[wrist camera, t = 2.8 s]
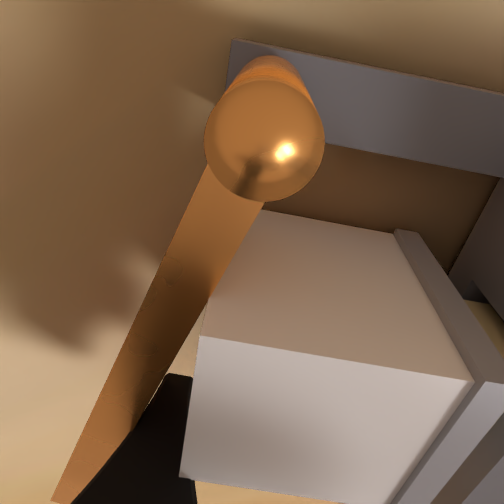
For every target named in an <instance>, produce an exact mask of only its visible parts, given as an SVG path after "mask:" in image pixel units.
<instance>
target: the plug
mask: <svg viewBox="0 0 504 504" xmlns="http://www.w3.org/2000/svg"><path fill="white" fill-rule="evenodd" d="M503 413H504V322H503V321H502V320H501V318H500V317H499V316H498V314H497V313H496V312H495V310H494V309H493V308H492V306H491V305H490V304H485V303H480V302H474V301H469V300H463V298H462V297H461V295H460V294H459V292H458V291H457V289H456V288H455V286H454V285H453V284H452V282H451V281H450V279H449V278H448V276H447V275H446V273H445V272H444V270H443V269H442V267H441V266H440V264H439V263H438V261H437V260H436V258H435V257H434V256H433V254H432V253H431V251H430V250H429V248H428V247H427V245H426V244H425V242H424V241H423V239H422V238H421V236H420V235H419V233H418V232H413V231H408V230H403V229H397V228H396V229H395V232H394V234H391V233H385V232H380V231H375V230H369V229H364V228H358V227H353V226H348V225H342V224H337V223H332V222H326V221H321V220H316V219H310V218H305V217H300V216H294V215H289V214H283V213H278V212H273V211H267V210H262V209H261V210H260V212H259V213H258V215H257V217H256V219H255V220H254V222H253V224H252V226H251V227H250V229H249V231H248V232H247V234H246V236H245V238H244V239H243V241H242V243H241V245H240V246H239V248H238V250H237V251H236V253H235V255H234V257H233V258H232V260H231V262H230V264H229V265H228V267H227V269H226V270H225V272H224V274H223V276H222V277H221V279H220V281H219V282H218V284H217V286H216V288H215V289H214V291H213V293H212V295H211V296H210V298H209V299H208V303H207V307H206V312H205V316H204V320H203V324H202V328H201V332H200V337H199V344H198V350H197V357H196V364H195V371H194V378H193V384H192V391H191V398H190V405H189V412H188V418H187V425H186V432H185V439H184V446H183V452H182V459H181V466H180V473H179V477H183V478H190V479H191V480H195V481H202V482H208V483H215V484H222V485H228V486H235V487H241V488H248V489H254V490H261V491H267V492H274V493H280V494H287V495H294V496H300V497H307V498H313V499H320V500H326V501H333V502H339V503H346V504H430V503H431V502H432V500H433V499H434V498H435V497H436V496H437V494H438V493H439V492H440V491H441V489H442V488H443V487H444V486H445V484H446V483H447V482H448V481H449V479H450V478H451V477H452V476H453V474H454V473H455V472H456V471H457V469H458V468H459V467H460V466H461V464H462V463H463V462H464V461H465V459H466V458H467V457H468V456H469V454H470V453H471V452H472V451H473V449H474V448H475V447H476V446H477V445H478V443H479V442H480V441H481V440H482V438H483V437H484V436H485V435H486V434H487V433H488V431H489V430H490V429H491V428H492V426H493V425H494V424H495V423H496V421H497V420H498V419H499V418H500V416H501V415H502V414H503Z"/></svg>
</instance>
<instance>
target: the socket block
mask: <svg viewBox="0 0 504 504" xmlns="http://www.w3.org/2000/svg"><path fill="white" fill-rule="evenodd" d="M265 55H274V56H279V57H282V58H284V59H286V60H287V61H289V62H290V63H291V64H292V65H294V67H295V68H296V69H297V70H298V72H299V74H300V76H301V78H302V80H303V82H304V84H305V86H306V89H307V91H308V93H309V95H310V97H311V99H312V101H313V103H314V106H315V108H316V110H317V112H318V114H319V116H320V119H321V121H322V125H323V128H324V135H325V143H328V144H333V145H338V146H343V147H348V148H353V149H359V150H364V151H369V152H374V153H379V154H384V155H389V156H394V157H399V158H404V159H410V160H415V161H420V162H425V163H430V164H435V165H440V166H445V167H450V168H455V169H460V170H466V171H471V172H476V173H481V174H486V175H491V176H496V177H500V179H499V181H498V183H497V185H496V187H495V189H494V191H493V192H492V194H491V196H490V198H489V200H488V202H487V204H486V205H485V207H484V209H483V211H482V213H481V215H480V217H479V219H478V220H477V222H476V224H475V226H474V228H473V230H472V232H471V233H470V235H469V237H468V239H467V241H466V243H465V245H464V247H463V248H462V250H461V252H460V254H459V256H458V258H457V260H456V261H455V263H454V265H453V267H452V269H451V271H450V273H449V275H448V278H449V279H450V281H451V282H452V284H453V285H454V286H455V288H456V289H457V291H458V292H459V294H460V295H461V297H462V298H463V300H469V301H474V302H480V303H485V304H490V305H491V306H492V308H493V309H494V310H495V312H496V313H497V314H498V316H499V317H500V318H501V320H502V321H503V322H504V93H501V92H496V91H491V90H486V89H481V88H477V87H472V86H467V85H462V84H457V83H452V82H448V81H443V80H438V79H433V78H428V77H423V76H418V75H414V74H409V73H404V72H399V71H394V70H389V69H385V68H380V67H375V66H370V65H365V64H360V63H356V62H351V61H346V60H341V59H336V58H331V57H327V56H322V55H317V54H312V53H307V52H302V51H298V50H293V49H288V48H283V47H278V46H273V45H269V44H264V43H259V42H254V41H249V40H244V39H240V38H235V39H232V43H231V50H230V58H229V65H228V73H227V80H226V87H225V92H226V90H227V89H228V88H229V86H230V85H231V83H232V82H233V81H234V79H235V78H236V76H237V75H238V74H239V72H240V71H241V70H242V68H243V67H244V66H245V65H246V64H247V63H248V62H250V61H251V60H253V59H255V58H257V57H260V56H265ZM430 504H504V413H503V414H502V415H501V416H500V418H499V419H498V420H497V421H496V423H495V424H494V425H493V426H492V428H491V429H490V430H489V431H488V433H487V434H486V435H485V436H484V437H483V438H482V440H481V441H480V442H479V443H478V445H477V446H476V447H475V448H474V449H473V451H472V452H471V453H470V454H469V456H468V457H467V458H466V459H465V461H464V462H463V463H462V464H461V466H460V467H459V468H458V469H457V471H456V472H455V473H454V474H453V476H452V477H451V478H450V479H449V481H448V482H447V483H446V484H445V486H444V487H443V488H442V489H441V491H440V492H439V493H438V494H437V496H436V497H435V498H434V499H433V500H432V502H431V503H430Z"/></svg>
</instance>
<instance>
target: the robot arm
mask: <svg viewBox="0 0 504 504" xmlns="http://www.w3.org/2000/svg"><path fill="white" fill-rule="evenodd" d="M192 384H193V378H192V377H189V376H184V375H178V374H172V373H168V374H166V375H165V376H164V379H163V381H162V383H161V384H160V386H159V388H158V390H157V392H156V393H155V395H154V397H153V398H152V400H151V401H150V403H149V404H148V406H147V407H146V409H145V411H144V412H143V414H142V415H141V417H140V419H139V421H138V422H137V424H136V426H135V427H134V429H133V431H131V432H129V433H128V435H127V436H126V437H125V439H124V440H123V441H122V443H121V444H120V445H119V447H118V448H117V449H116V450H115V452H114V453H113V454H112V455H111V457H110V458H109V459H108V460H107V462H106V463H105V464H104V465H103V467H102V468H101V469H100V470H99V471H98V473H97V474H96V475H95V476H94V477H93V479H92V480H91V481H90V482H89V483H88V484H87V485H86V487H85V488H84V489H83V490H82V491H81V492H80V493H79V494H78V496H77V497H76V498H75V499H74V500H73V501H72V502H71V503H70V504H197V497H196V490H195V481H194V480H191V479H190V478H183V477H179V473H180V466H181V459H182V452H183V446H184V439H185V432H186V425H187V418H188V412H189V405H190V398H191V391H192Z"/></svg>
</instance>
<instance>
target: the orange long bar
mask: <svg viewBox="0 0 504 504" xmlns="http://www.w3.org/2000/svg"><path fill="white" fill-rule="evenodd" d="M324 146H325V135H324V128H323V125H322V121H321V119H320V116H319V114H318V112H317V110H316V108H315V106H314V103H313V101H312V99H311V97H310V95H309V93H308V91H307V89H306V86H305V84H304V82H303V80H302V78H301V76H300V74H299V72H298V70H297V69H296V68H295V67H294V65H292V64H291V63H290V62H289V61H287V60H286V59H284V58H282V57H279V56H274V55H265V56H260V57H257V58H255V59H253V60H251V61H250V62H248V63H247V64H246V65H245V66H244V67H243V68H242V70H241V71H240V72H239V74H238V75H237V76H236V78H235V79H234V81H233V82H232V83H231V85H230V86H229V88H228V89H227V90H226V92H225V93H224V94H223V96H222V97H221V99H220V100H219V101H218V103H217V104H216V106H215V107H214V108H213V110H212V112H211V114H210V116H209V118H208V121H207V123H206V127H205V132H204V150H205V155H206V159H207V162H208V164H207V166H206V168H205V170H204V172H203V174H202V176H201V179H200V181H199V183H198V185H197V187H196V189H195V191H194V194H193V196H192V198H191V200H190V202H189V204H188V206H187V209H186V211H185V213H184V215H183V217H182V219H181V222H180V224H179V226H178V228H177V230H176V232H175V234H174V237H173V239H172V241H171V243H170V245H169V247H168V249H167V252H166V254H165V256H164V258H163V260H162V262H161V264H160V267H159V269H158V271H157V273H156V275H155V277H154V279H153V282H152V284H151V286H150V288H149V290H148V292H147V294H146V297H145V299H144V301H143V303H142V305H141V307H140V309H139V312H138V314H137V316H136V318H135V320H134V322H133V324H132V327H131V329H130V331H129V333H128V335H127V337H126V340H125V342H124V344H123V346H122V348H121V350H120V352H119V355H118V357H117V359H116V361H115V363H114V365H113V367H112V370H111V372H110V374H109V376H108V378H107V380H106V382H105V385H104V387H103V389H102V391H101V393H100V395H99V397H98V400H97V402H96V404H95V406H94V408H93V410H92V412H91V415H90V417H89V419H88V421H87V423H86V425H85V427H84V430H83V432H82V434H81V436H80V438H79V440H78V443H77V445H76V447H75V449H74V451H73V453H72V455H71V458H70V460H69V462H68V464H67V466H66V468H65V470H64V473H63V475H62V477H61V479H60V481H59V483H58V485H57V488H56V490H55V492H54V494H53V496H52V498H51V500H50V501H53V502H57V503H60V504H70V503H71V502H72V501H73V500H74V499H75V498H76V497H77V496H78V494H79V493H80V492H81V491H82V490H83V489H84V488H85V487H86V485H87V484H88V483H89V482H90V481H91V480H92V479H93V477H94V476H95V475H96V474H97V473H98V471H99V470H100V469H101V468H102V467H103V465H104V464H105V463H106V462H107V460H108V459H109V458H110V457H111V455H112V454H113V453H114V452H115V450H116V449H117V448H118V447H119V445H120V444H121V443H122V441H123V440H124V439H125V437H126V436H127V435H128V433H129V432H131V431H133V429H134V427H135V426H136V424H137V422H138V421H139V419H140V417H141V415H142V414H143V412H144V410H145V408H146V407H147V405H148V403H149V402H150V400H151V398H152V396H153V395H154V393H155V391H156V389H157V388H158V386H159V384H160V383H161V381H162V379H163V377H164V376H165V374H166V372H167V370H168V369H169V367H170V365H171V364H172V362H173V360H174V358H175V357H176V355H177V353H178V352H179V350H180V348H181V346H182V345H183V343H184V341H185V339H186V338H187V336H188V334H189V333H190V331H191V329H192V327H193V326H194V324H195V322H196V320H197V319H198V317H199V315H200V314H201V312H202V310H203V308H204V307H205V305H206V303H207V301H208V299H209V298H210V296H211V295H212V293H213V291H214V289H215V288H216V286H217V284H218V282H219V281H220V279H221V277H222V276H223V274H224V272H225V270H226V269H227V267H228V265H229V264H230V262H231V260H232V258H233V257H234V255H235V253H236V251H237V250H238V248H239V246H240V245H241V243H242V241H243V239H244V238H245V236H246V234H247V232H248V231H249V229H250V227H251V226H252V224H253V222H254V220H255V219H256V217H257V215H258V213H259V212H260V210H261V208H262V207H263V205H264V203H265V202H270V201H276V200H281V199H284V198H287V197H289V196H291V195H293V194H295V193H296V192H298V191H299V190H301V189H302V188H303V187H304V186H306V185H307V183H308V182H309V181H310V180H311V179H312V178H313V176H314V175H315V173H316V172H317V170H318V168H319V166H320V163H321V161H322V157H323V153H324Z"/></svg>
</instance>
